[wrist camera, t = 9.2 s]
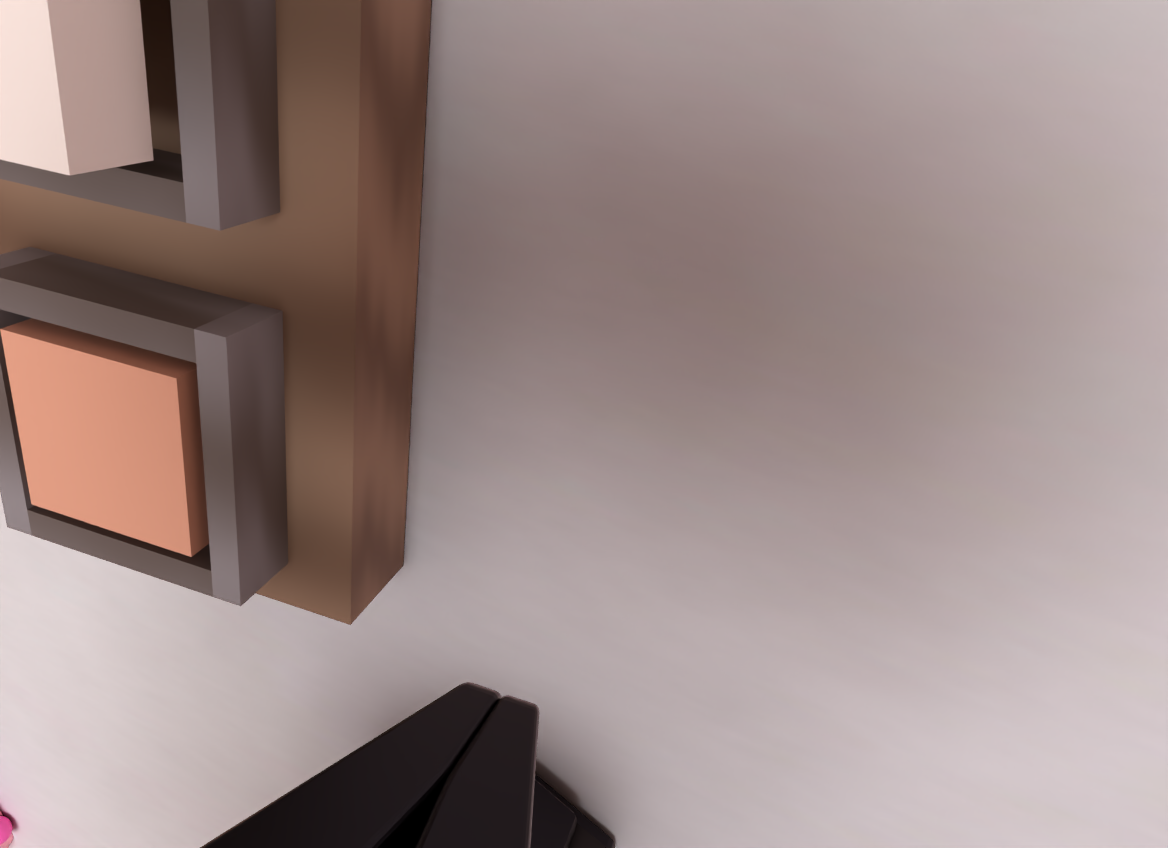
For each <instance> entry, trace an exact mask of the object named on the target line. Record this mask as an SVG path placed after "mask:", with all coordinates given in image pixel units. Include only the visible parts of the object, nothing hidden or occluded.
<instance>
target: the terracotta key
mask: <svg viewBox="0 0 1168 848" xmlns="http://www.w3.org/2000/svg"><path fill="white" fill-rule="evenodd" d="M0 331H1V337H2V343H3V348H4V354H5V359H6V365H7V371H8V376H9V382H10V387H11V393H12V398H13V404H14V410H15V415H16V421H17V426H18V432H19V438H20V443H21V449H22V454H23V460H24V465H25V471H26V477H27V482H28V488H29V493H30V499H31V504H32V505H35V506H38V507H41V508H44V509H47V510H50V511H53V512H56V513H59V514H62V515H65V516H68V517H72V518H75V519H78V520H81V521H84V522H87V523H90V524H93V525H96V526H99V527H102V528H105V529H108V530H111V531H114V532H117V533H120V534H123V535H126V536H129V537H132V538H135V539H138V540H141V541H144V542H147V543H150V544H153V545H156V546H159V547H162V548H165V549H168V550H171V551H174V552H178V553H181V554H184V555H187V556H190V557H192V556H194V555H195V554H196V553H197V552H199V551H200V550H201V549H203V548H204V547H205V546H207V545H208V544H209V532H208V518H207V504H206V490H205V476H204V462H203V448H202V435H201V421H200V407H199V393H198V379H197V365H196V363H194V362H190V361H186V360H183V359H179V358H175V357H172V356H168V355H164V354H161V353H157V352H154V351H150V350H146V349H143V348H139V347H135V346H132V345H128V344H124V343H121V342H117V341H114V340H110V339H106V338H103V337H99V336H95V335H92V334H88V333H84V332H81V331H77V330H74V329H70V328H66V327H63V326H59V325H55V324H52V323H48V322H44V321H41V320H37V319H34V318H31V319H28V320H25V321H22V322H19V323H16V324H13V325H10V326H7V327H4V328H1V329H0Z"/></svg>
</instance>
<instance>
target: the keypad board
mask: <svg viewBox="0 0 1168 848" xmlns="http://www.w3.org/2000/svg"><path fill="white" fill-rule="evenodd" d="M140 9H141V21H142V33H143V44H144V56H145V67H146V79H147V91H148V102H149V114H150V125H151V137H152V148H153V161H147V162H142V163H136V164H131V165H125V166H120V167H114V168H109V169H103V170H98V171H92V172H87V173H81V174H76V175H65V174H61V173H57V172H52V171H48V170H44V169H39V168H35V167H31V166H26V165H22V164H18V163H13V162H9V161H4V160H0V329H1V328H4V327H7V326H10V325H13V324H16V323H19V322H22V321H25V320H28V319H31V318H34V319H37V320H41V321H44V322H48V323H52V324H55V325H59V326H63V327H66V328H70V329H74V330H77V331H81V332H84V333H88V334H92V335H95V336H99V337H103V338H106V339H110V340H114V341H117V342H121V343H124V344H128V345H132V346H135V347H139V348H143V349H146V350H150V351H154V352H157V353H161V354H164V355H168V356H172V357H175V358H179V359H183V360H186V361H190V362H194V363H196V365H197V379H198V393H199V407H200V421H201V435H202V448H203V462H204V476H205V490H206V504H207V518H208V532H209V544H208V545H207V546H205V547H204V548H203V549H201V550H200V551H199V552H197V553H196V554H195V555H194V556H192V557H190V556H187V555H184V554H181V553H178V552H174V551H171V550H168V549H165V548H162V547H159V546H156V545H153V544H150V543H147V542H144V541H141V540H138V539H135V538H132V537H129V536H126V535H123V534H120V533H117V532H114V531H111V530H108V529H105V528H102V527H99V526H96V525H93V524H90V523H87V522H84V521H81V520H78V519H75V518H72V517H68V516H65V515H62V514H59V513H56V512H53V511H50V510H47V509H44V508H41V507H38V506H35V505H32V504H31V499H30V493H29V488H28V482H27V477H26V471H25V465H24V460H23V454H22V449H21V443H20V438H19V432H18V426H17V421H16V415H15V410H14V404H13V398H12V393H11V387H10V382H9V376H8V371H7V365H6V359H5V354H4V348H3V343H2V337H1V331H0V492H1V497H2V503H3V508H4V513H5V518H6V523H7V527H9V528H12V529H15V530H18V531H21V532H24V533H27V534H30V535H33V536H35V537H38V538H41V539H44V540H47V541H50V542H53V543H56V544H59V545H62V546H65V547H68V548H71V549H74V550H77V551H80V552H83V553H86V554H89V555H91V556H94V557H97V558H100V559H103V560H106V561H109V562H112V563H115V564H118V565H121V566H124V567H127V568H130V569H133V570H136V571H139V572H142V573H145V574H147V575H150V576H153V577H156V578H159V579H162V580H165V581H168V582H171V583H174V584H177V585H180V586H183V587H186V588H189V589H192V590H195V591H198V592H201V593H203V594H206V595H209V596H212V597H215V598H218V599H221V600H224V601H227V602H230V603H233V604H236V605H239V606H241V605H243V604H244V603H245V602H246V601H247V600H248V599H249V598H250V597H251V596H252V595H254V594H255V593H257V594H260V595H263V596H266V597H269V598H272V599H275V600H278V601H281V602H284V603H287V604H290V605H293V606H296V607H299V608H302V609H305V610H308V611H311V612H314V613H317V614H320V615H323V616H326V617H329V618H332V619H335V620H338V621H341V622H344V623H347V624H349V625H351V624H352V622H353V621H354V620H355V619H356V618H357V617H358V616H359V615H360V613H361V612H362V611H363V610H364V609H365V608H366V607H367V606H368V604H369V603H370V602H371V601H372V600H373V599H374V598H375V597H376V595H377V594H378V593H379V592H380V591H381V590H382V589H383V588H384V586H385V585H386V584H387V583H388V582H389V581H390V580H391V579H392V577H393V576H394V575H395V574H396V573H397V572H398V571H399V570H400V568H401V567H402V566H403V558H404V538H405V518H406V498H407V478H408V458H409V438H410V419H411V399H412V379H413V359H414V339H415V319H416V299H417V279H418V259H419V239H420V219H421V199H422V179H423V159H424V139H425V120H426V100H427V80H428V60H429V40H430V20H431V0H140Z"/></svg>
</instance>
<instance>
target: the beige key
mask: <svg viewBox="0 0 1168 848" xmlns="http://www.w3.org/2000/svg"><path fill="white" fill-rule="evenodd" d="M0 160H4V161H9V162H13V163H18V164H22V165H26V166H31V167H35V168H39V169H44V170H48V171H52V172H57V173H61V174H65V175H76V174H81V173H87V172H92V171H98V170H103V169H109V168H114V167H120V166H125V165H131V164H136V163H142V162H147V161H153V148H152V137H151V125H150V114H149V102H148V91H147V79H146V67H145V56H144V44H143V33H142V21H141V9H140V0H0Z"/></svg>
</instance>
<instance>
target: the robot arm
mask: <svg viewBox="0 0 1168 848" xmlns="http://www.w3.org/2000/svg"><path fill="white" fill-rule="evenodd" d="M538 724H539V708H538V707H537V705H535V704H533V703H530V702H527V701H524V700H521V699H518V698H515V697H512V696H509V695H506V696H503V697H502V698H501V695H500V694H499V693H498V692H497V691H495V690H492V689H489V688H486V687H483V686H480V685H477V684H474V683H470V682H467V683H463V684H461V685H459V686H457V687H456V688H454V689H453V690H451V691H449V692H448V693H446V694H445V695H443V696H441V697H440V698H438V699H437V700H435V701H433V702H432V703H430V704H429V705H427V706H425V707H424V708H422V709H421V710H419V711H417V712H416V713H414V714H413V715H411V716H409V717H408V718H406V719H405V720H403V721H401V722H400V723H398V724H397V725H395V726H394V727H392V728H390V729H389V730H387V731H386V732H384V733H382V734H381V735H379V736H378V737H376V738H374V739H373V740H371V741H370V742H368V743H366V744H365V745H363V746H362V747H360V748H358V749H357V750H355V751H354V752H352V753H350V754H349V755H347V756H346V757H344V758H342V759H341V760H339V761H338V762H336V763H334V764H333V765H331V766H330V767H328V768H326V769H325V770H323V771H322V772H320V773H318V774H317V775H315V776H314V777H312V778H310V779H309V780H307V781H306V782H304V783H302V784H301V785H299V786H298V787H296V788H295V789H293V790H291V791H290V792H288V793H287V794H285V795H283V796H282V797H280V798H279V799H277V800H275V801H274V802H272V803H271V804H269V805H267V806H266V807H264V808H263V809H261V810H259V811H258V812H256V813H255V814H253V815H251V816H250V817H248V818H247V819H245V820H243V821H242V822H240V823H239V824H237V825H235V826H234V827H232V828H231V829H229V830H227V831H226V832H224V833H223V834H221V835H219V836H218V837H216V838H215V839H213V840H211V841H210V842H208V843H207V844H205V845H203V846H202V847H200V848H615V844H614V842H613V841H612V839H611V838H610V837H609V836H608V835H606V834H605V833H604V832H603V831H602V830H600V829H599V828H598V827H597V826H596V825H595V824H593V823H592V822H591V821H590V820H589V819H587V818H586V817H585V816H584V815H583V814H582V813H580V812H579V811H578V810H577V809H576V808H575V807H573V806H572V805H571V804H570V803H569V802H567V801H566V800H565V799H564V798H563V797H562V796H560V795H559V794H558V793H557V792H556V791H554V790H553V789H552V788H551V787H550V786H549V785H547V784H546V783H545V782H544V781H543V780H542V779H540V778H539V777H538V776H537V775H536V774H535V768H536V753H537V739H538Z"/></svg>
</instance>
